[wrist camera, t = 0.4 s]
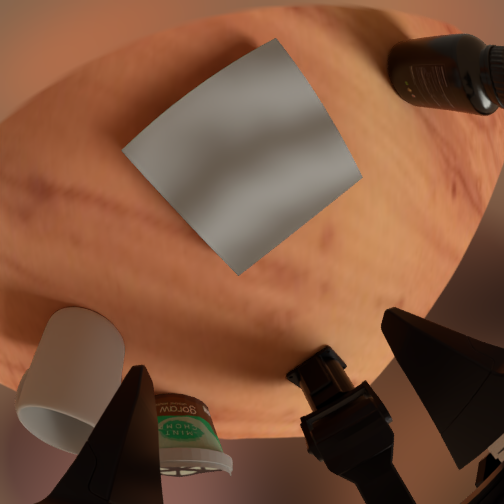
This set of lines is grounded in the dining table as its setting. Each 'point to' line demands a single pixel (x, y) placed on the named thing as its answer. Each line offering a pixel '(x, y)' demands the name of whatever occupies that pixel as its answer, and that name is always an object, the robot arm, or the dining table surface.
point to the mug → (71, 378)
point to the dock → (247, 156)
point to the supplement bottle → (449, 73)
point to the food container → (187, 437)
